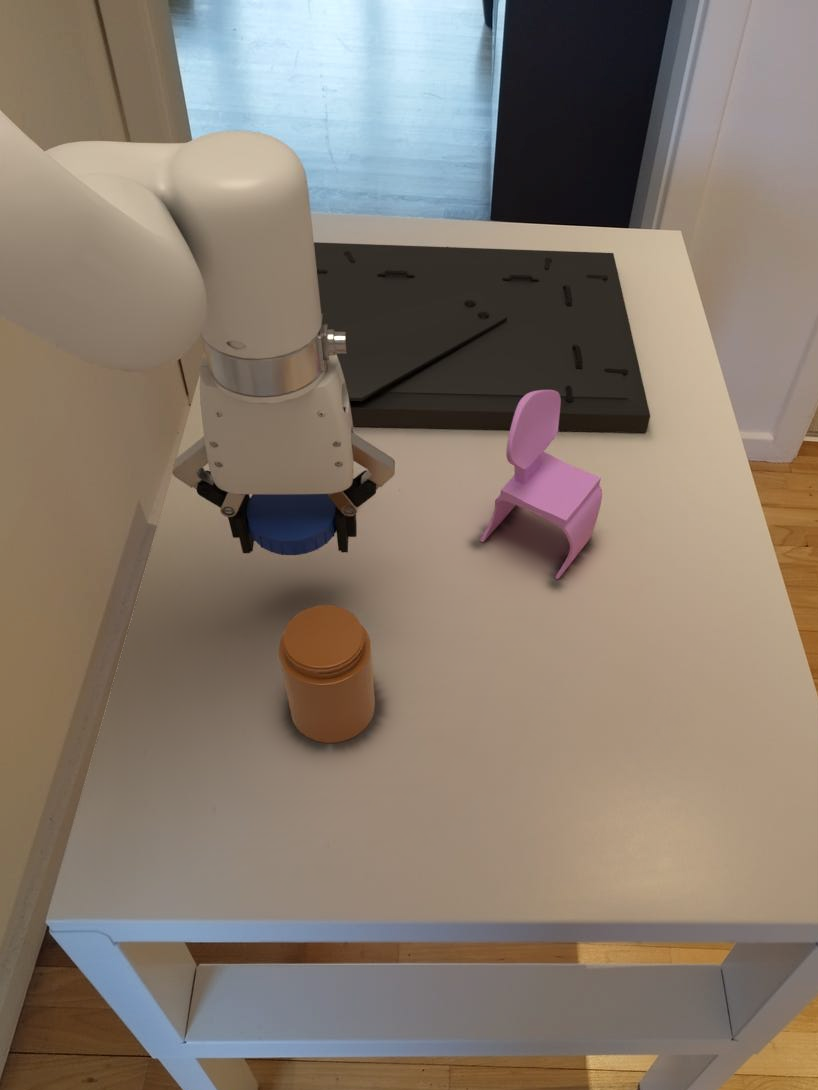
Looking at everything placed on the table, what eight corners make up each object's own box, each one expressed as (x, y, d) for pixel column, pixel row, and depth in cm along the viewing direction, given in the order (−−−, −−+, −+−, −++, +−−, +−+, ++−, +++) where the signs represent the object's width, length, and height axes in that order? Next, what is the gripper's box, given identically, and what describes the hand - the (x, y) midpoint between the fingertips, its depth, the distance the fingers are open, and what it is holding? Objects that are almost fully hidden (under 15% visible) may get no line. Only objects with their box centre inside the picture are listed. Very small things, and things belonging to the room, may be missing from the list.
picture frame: (273, 424, 92) (645, 433, 94) (268, 395, 89) (653, 405, 92) (299, 259, 110) (610, 270, 113) (296, 230, 108) (615, 242, 110)
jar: (290, 746, 70) (274, 676, 62) (291, 675, 74) (277, 601, 66) (376, 740, 70) (371, 670, 63) (373, 671, 74) (368, 597, 67)
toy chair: (557, 589, 81) (581, 461, 69) (473, 547, 83) (483, 417, 71) (600, 533, 85) (630, 404, 73) (519, 495, 88) (535, 364, 76)
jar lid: (357, 525, 71) (356, 509, 70) (286, 570, 68) (283, 555, 67) (301, 479, 74) (299, 463, 73) (230, 520, 71) (226, 505, 69)
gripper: (401, 315, 61) (405, 506, 75) (137, 313, 60) (192, 507, 74) (401, 386, 57) (406, 574, 71) (116, 385, 55) (179, 576, 70)
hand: (296, 538), depth 72 cm, fingers closed on jar lid, 6 cm apart
